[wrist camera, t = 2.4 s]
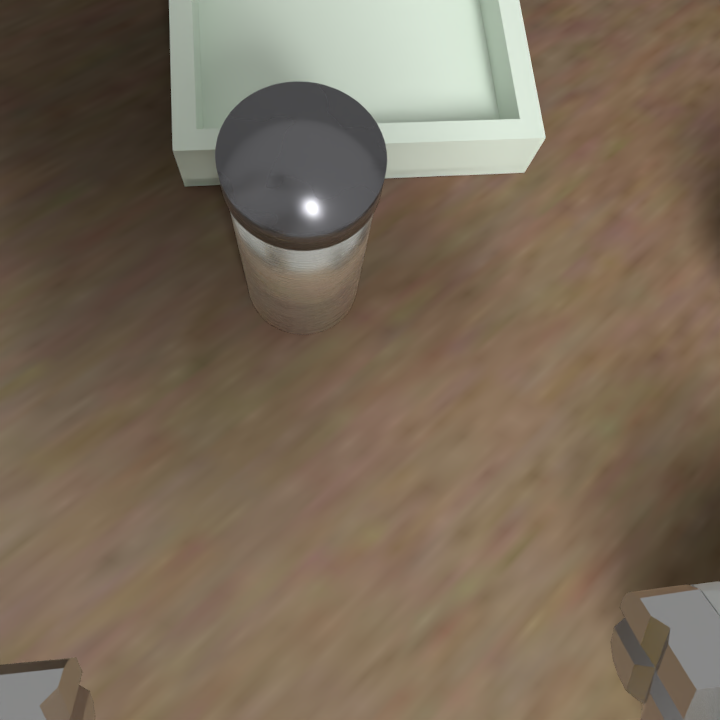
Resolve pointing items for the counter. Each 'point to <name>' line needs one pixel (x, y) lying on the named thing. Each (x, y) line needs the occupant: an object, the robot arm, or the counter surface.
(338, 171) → the shaker
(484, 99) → the tray
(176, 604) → the counter surface
